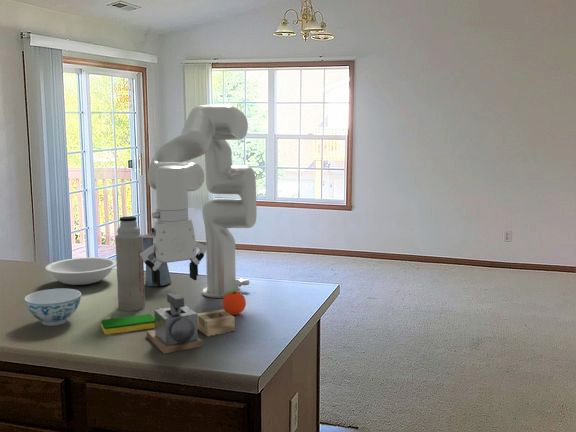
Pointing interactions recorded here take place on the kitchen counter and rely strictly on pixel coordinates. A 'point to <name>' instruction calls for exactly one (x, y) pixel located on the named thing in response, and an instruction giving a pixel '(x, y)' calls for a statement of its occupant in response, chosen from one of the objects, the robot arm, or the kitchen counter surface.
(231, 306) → the clementine
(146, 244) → the moka pot
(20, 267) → the kitchen counter surface
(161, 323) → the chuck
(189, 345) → the board
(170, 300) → the chuck key
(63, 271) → the soup bowl
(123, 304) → the thermos bottle
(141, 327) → the dish sponge
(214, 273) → the robot arm
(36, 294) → the chinaware
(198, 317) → the wooden square frame
